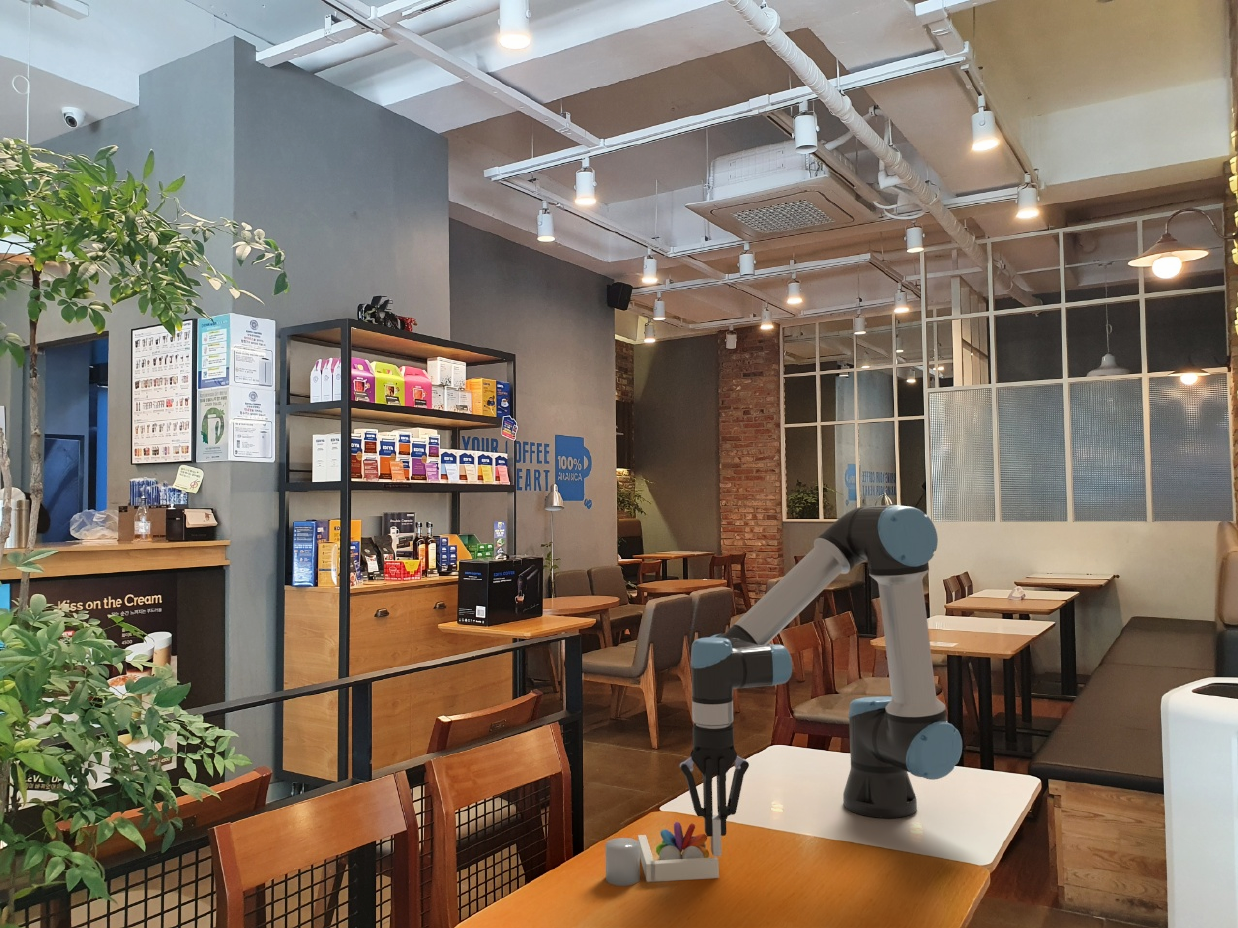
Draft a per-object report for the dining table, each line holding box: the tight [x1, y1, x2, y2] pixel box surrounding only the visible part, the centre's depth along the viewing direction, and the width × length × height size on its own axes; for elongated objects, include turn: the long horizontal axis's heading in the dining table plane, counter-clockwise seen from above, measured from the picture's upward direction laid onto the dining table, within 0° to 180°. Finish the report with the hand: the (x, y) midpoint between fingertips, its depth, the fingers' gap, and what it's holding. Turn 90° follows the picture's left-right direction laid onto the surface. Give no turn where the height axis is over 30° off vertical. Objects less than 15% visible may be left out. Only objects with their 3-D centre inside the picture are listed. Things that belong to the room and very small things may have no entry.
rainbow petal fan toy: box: [655, 821, 710, 860], centre depth 168 cm, size 8×10×7 cm
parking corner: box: [637, 834, 720, 883], centre depth 167 cm, size 13×14×3 cm
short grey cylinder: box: [604, 837, 641, 887], centre depth 161 cm, size 6×6×6 cm
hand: (716, 853), depth 168 cm, fingers closed
